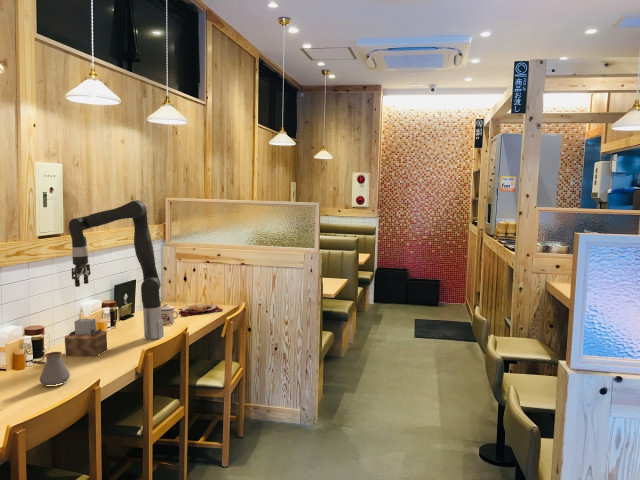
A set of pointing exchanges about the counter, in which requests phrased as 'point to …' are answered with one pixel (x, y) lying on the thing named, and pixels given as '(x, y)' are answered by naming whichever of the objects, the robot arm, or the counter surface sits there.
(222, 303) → the counter surface
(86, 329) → the lock block
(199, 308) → the plate with food
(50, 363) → the coffee pot
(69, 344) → the coupler stand
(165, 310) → the teacup with lid
